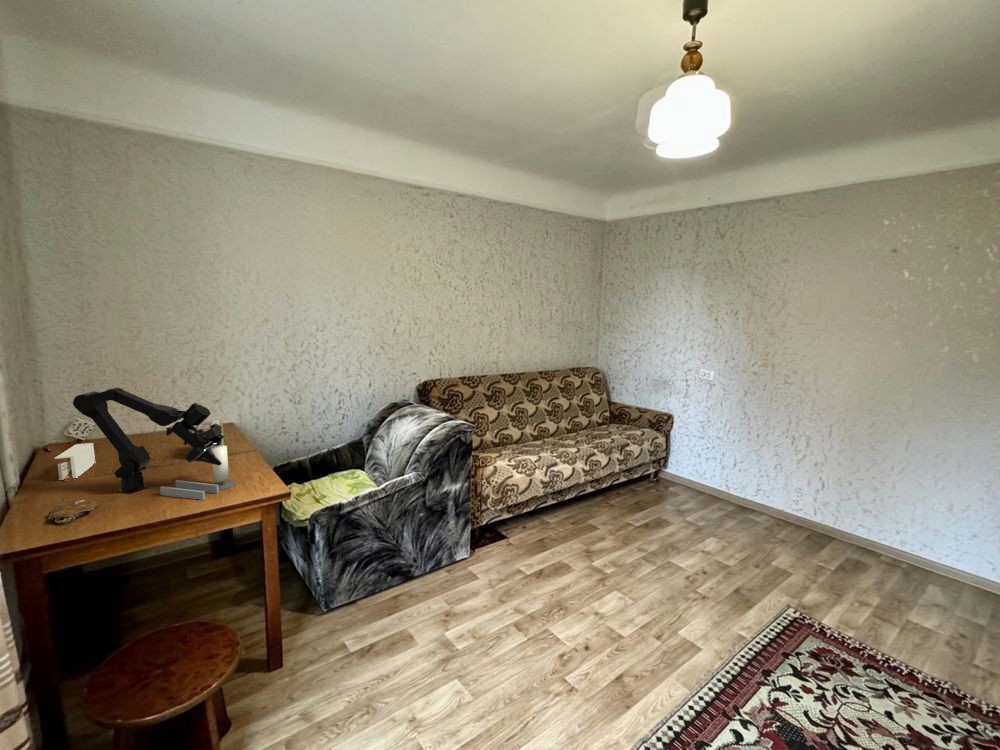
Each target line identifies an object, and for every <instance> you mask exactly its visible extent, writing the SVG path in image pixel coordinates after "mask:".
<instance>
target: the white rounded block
mask: <svg viewBox="0 0 1000 750" xmlns="http://www.w3.org/2000/svg"><path fill="white" fill-rule="evenodd" d="M211 452H212V453H213V454H214V455H215V456H216V457H217V458H218V459H219V460H220V462H221V463H222V464H221V465H215V464H211V465H212V467H211V468H212V479H213V482H219V481H225V480H229V479H230V477H229V476H230V474H229V473H230V472H229V458H228V456H229V455H228V446H227V445H225V444H224V445H218V446H214V447H212V448H211Z"/></svg>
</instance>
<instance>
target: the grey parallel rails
mask: <svg viewBox="0 0 1000 750" xmlns="http://www.w3.org/2000/svg"><path fill="white" fill-rule="evenodd" d="M174 481H175V487H171V486H170V487H169V486H163V485H162V486H160V487H159V491H160V492H159V493H160V496H166V497H174V498H180V497H181V498H182V499H188V498H189V499H190V500H196V499H199V501H205V500H206V494H205V493H210V494H219V493H220V490H219V486H218V485H215V484H212V483H206V482H194V481H188V480H187V481H186V480H178V479H176V480H174ZM189 499H188V500H189Z"/></svg>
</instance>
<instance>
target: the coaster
mask: <svg viewBox="0 0 1000 750" xmlns="http://www.w3.org/2000/svg"><path fill="white" fill-rule="evenodd" d="M211 484H215V485H218V486H219V491H224V490H223V489H225V490H228V489H231V488H233V487H235V486H236V485H235V484H237V482H236V481H235V480H229V479H227V480H224V481H214V482H213V483H211ZM234 485H235V486H234ZM232 486H233V487H232ZM230 487H231V488H230ZM227 488H228V489H227Z"/></svg>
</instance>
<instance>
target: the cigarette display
mask: <svg viewBox="0 0 1000 750" xmlns="http://www.w3.org/2000/svg"><path fill="white" fill-rule="evenodd" d="M68 458H69V459H68ZM60 459H68V460H64V461H61V462H59V463H57V470H58V471H57V472H58V480H64V479H67V478H70V477H73V478H77V479H78V478H79V477H80V476H81V475H83V473H85V472H86V471H87V470H89V469H90V468H91V467H93V466H94V465H95V464H96V457H95V447H94V442H89V443H87V442H86V443H78V444H77V443H76V444H74V445H72V446H71V447H69V448H68V449H66V450H65V451H64V452H62V453H60V454H59V455H57V456H55V457H54V460H60ZM94 463H95V464H94ZM93 464H94V465H93ZM78 476H79V477H78ZM64 481H65V480H64Z"/></svg>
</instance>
